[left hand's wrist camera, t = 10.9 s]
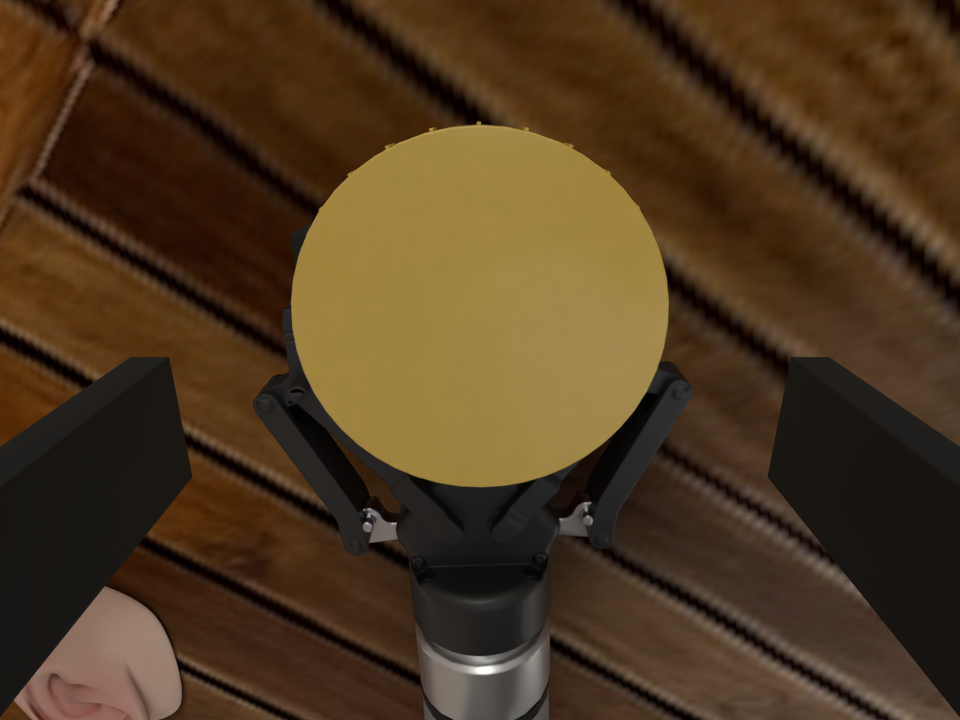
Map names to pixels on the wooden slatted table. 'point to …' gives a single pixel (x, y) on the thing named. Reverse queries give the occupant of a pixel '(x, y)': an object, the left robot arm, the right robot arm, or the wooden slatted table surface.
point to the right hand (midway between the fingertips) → (464, 222)
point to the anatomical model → (107, 667)
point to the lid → (479, 306)
